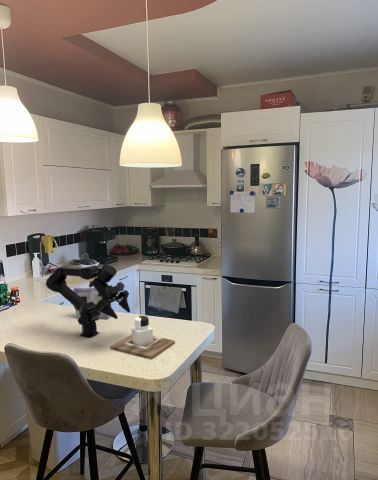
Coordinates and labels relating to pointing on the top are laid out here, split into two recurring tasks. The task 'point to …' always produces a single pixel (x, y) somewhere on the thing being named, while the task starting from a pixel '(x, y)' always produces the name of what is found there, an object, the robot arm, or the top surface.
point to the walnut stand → (145, 351)
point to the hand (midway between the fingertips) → (123, 315)
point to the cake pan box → (88, 298)
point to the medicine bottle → (142, 332)
